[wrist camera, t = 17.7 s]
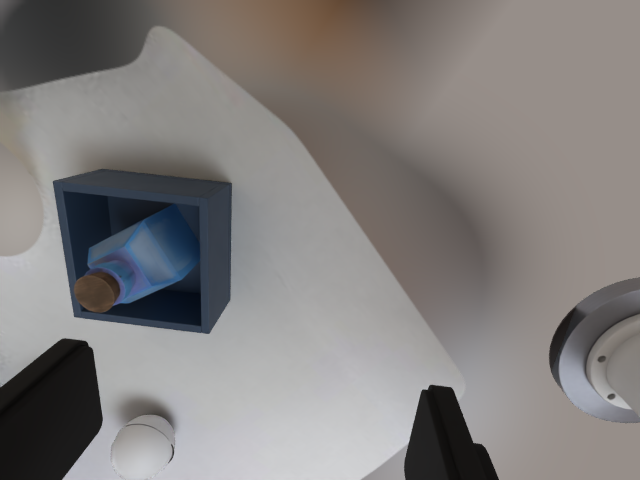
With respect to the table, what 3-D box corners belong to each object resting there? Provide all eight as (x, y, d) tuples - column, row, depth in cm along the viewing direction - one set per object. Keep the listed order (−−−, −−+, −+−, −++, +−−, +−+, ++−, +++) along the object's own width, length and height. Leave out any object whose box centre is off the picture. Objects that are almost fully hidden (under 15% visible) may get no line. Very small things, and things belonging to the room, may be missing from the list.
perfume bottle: (160, 275, 41) (88, 339, 29) (127, 227, 39) (37, 275, 28) (206, 254, 39) (149, 312, 28) (175, 203, 38) (100, 244, 26)
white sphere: (166, 452, 51) (138, 505, 44) (121, 422, 50) (85, 473, 43) (207, 413, 48) (184, 464, 41) (161, 380, 47) (129, 427, 40)
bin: (231, 182, 37) (207, 198, 31) (230, 299, 42) (209, 334, 35) (102, 168, 38) (52, 180, 31) (115, 285, 42) (73, 317, 36)
